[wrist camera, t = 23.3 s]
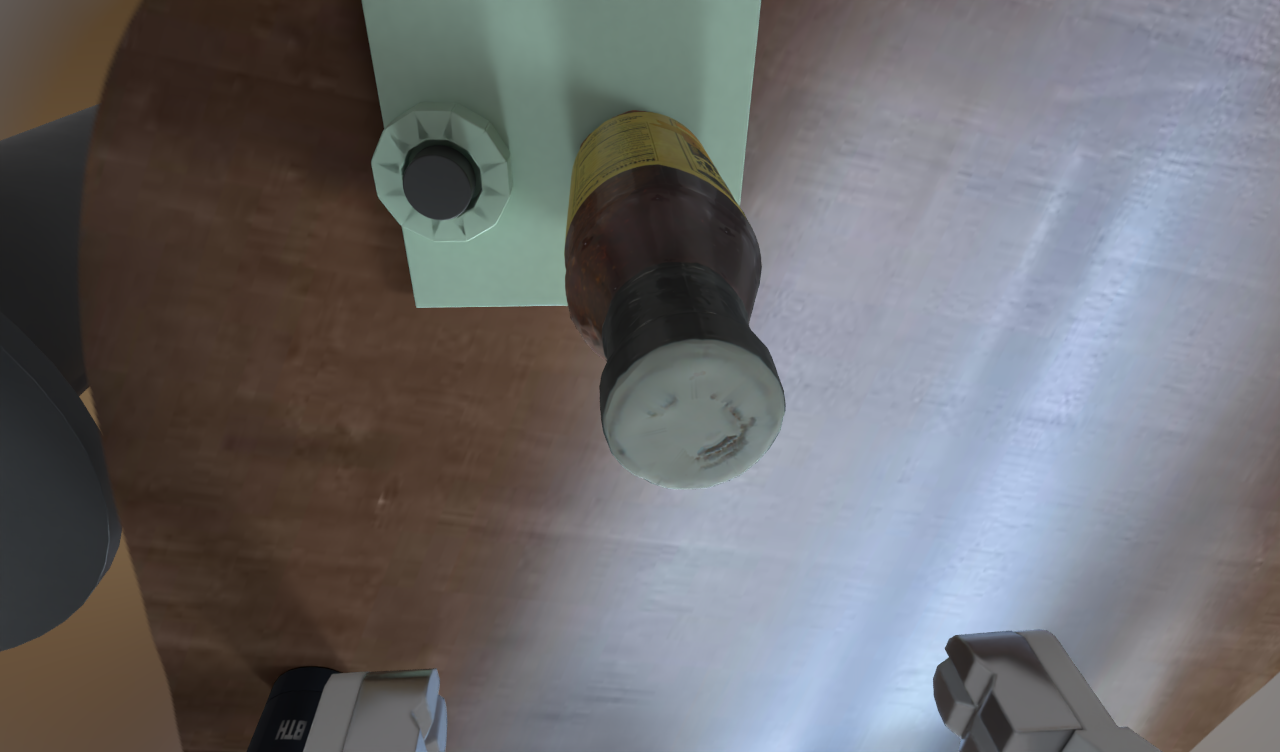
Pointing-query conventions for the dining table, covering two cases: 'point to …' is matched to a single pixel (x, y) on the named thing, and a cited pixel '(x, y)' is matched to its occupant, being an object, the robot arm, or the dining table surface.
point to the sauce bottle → (669, 304)
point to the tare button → (439, 182)
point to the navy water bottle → (290, 710)
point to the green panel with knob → (540, 118)
